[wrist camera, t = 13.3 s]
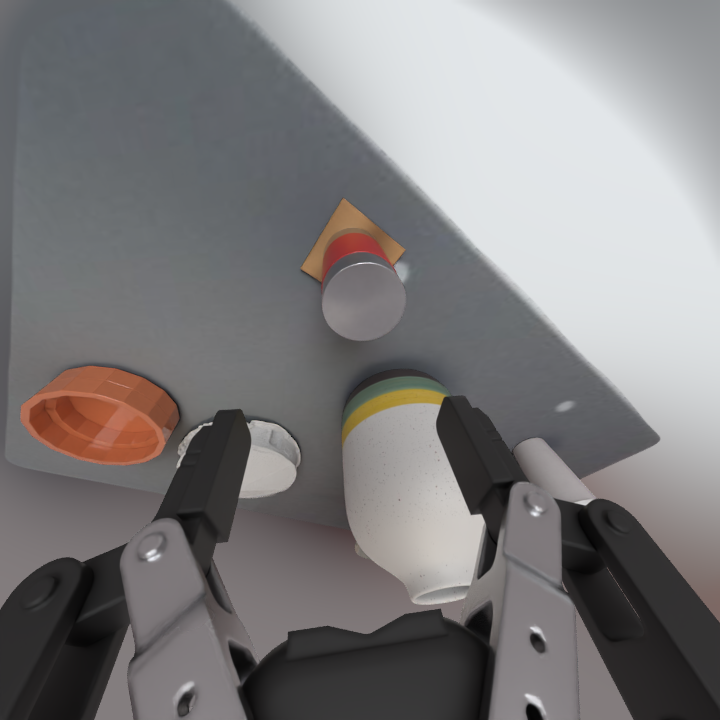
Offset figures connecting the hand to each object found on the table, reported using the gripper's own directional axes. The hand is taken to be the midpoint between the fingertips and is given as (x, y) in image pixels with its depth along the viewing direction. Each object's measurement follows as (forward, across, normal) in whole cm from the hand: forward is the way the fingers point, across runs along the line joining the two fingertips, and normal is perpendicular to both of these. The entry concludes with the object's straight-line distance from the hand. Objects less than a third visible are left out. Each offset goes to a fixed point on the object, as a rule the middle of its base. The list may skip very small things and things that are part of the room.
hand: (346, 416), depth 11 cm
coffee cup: (+21, -40, +39) cm, 60 cm away
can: (+21, -2, 0) cm, 22 cm away
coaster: (+22, -2, 0) cm, 22 cm away
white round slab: (+22, +16, +34) cm, 43 cm away
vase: (+22, -9, +22) cm, 32 cm away
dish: (+22, +30, +20) cm, 42 cm away
